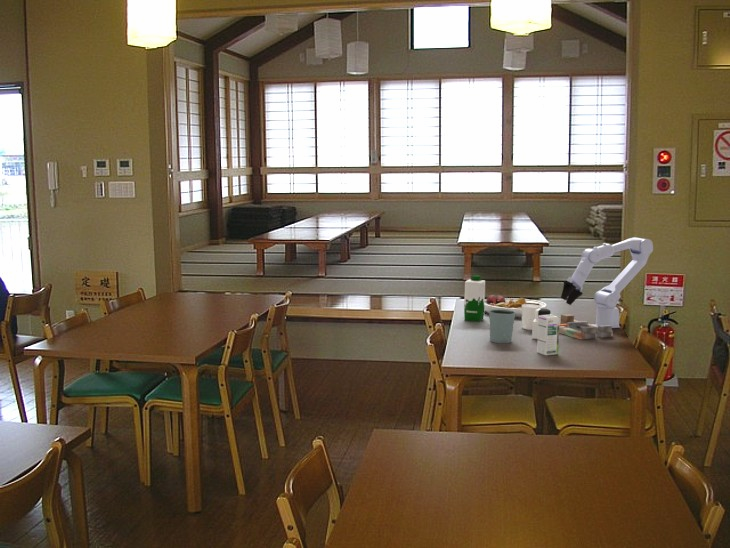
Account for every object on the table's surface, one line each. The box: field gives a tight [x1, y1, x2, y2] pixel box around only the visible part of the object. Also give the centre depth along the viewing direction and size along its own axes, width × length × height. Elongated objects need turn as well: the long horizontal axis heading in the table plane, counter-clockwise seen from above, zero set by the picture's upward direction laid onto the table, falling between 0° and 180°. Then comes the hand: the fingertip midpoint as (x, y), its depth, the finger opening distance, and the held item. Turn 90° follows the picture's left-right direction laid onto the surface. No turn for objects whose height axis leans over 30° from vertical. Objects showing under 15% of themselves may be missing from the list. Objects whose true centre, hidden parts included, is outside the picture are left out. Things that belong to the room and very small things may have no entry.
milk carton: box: [463, 274, 486, 323], centre depth 367 cm, size 9×9×20 cm
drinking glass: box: [488, 310, 515, 344], centre depth 324 cm, size 10×10×12 cm
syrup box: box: [536, 313, 560, 356], centre depth 303 cm, size 6×6×14 cm
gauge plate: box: [559, 320, 589, 331], centre depth 342 cm, size 15×7×4 cm, turn 114°
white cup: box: [521, 304, 540, 331], centre depth 350 cm, size 8×8×10 cm
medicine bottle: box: [531, 308, 551, 340], centre depth 331 cm, size 7×7×12 cm
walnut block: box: [559, 313, 575, 327], centre depth 351 cm, size 4×4×6 cm
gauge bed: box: [559, 319, 614, 340], centre depth 345 cm, size 17×28×5 cm, turn 24°
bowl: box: [484, 294, 547, 319], centre depth 387 cm, size 30×30×8 cm
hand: (565, 301), depth 348 cm, fingers open, 7 cm apart
